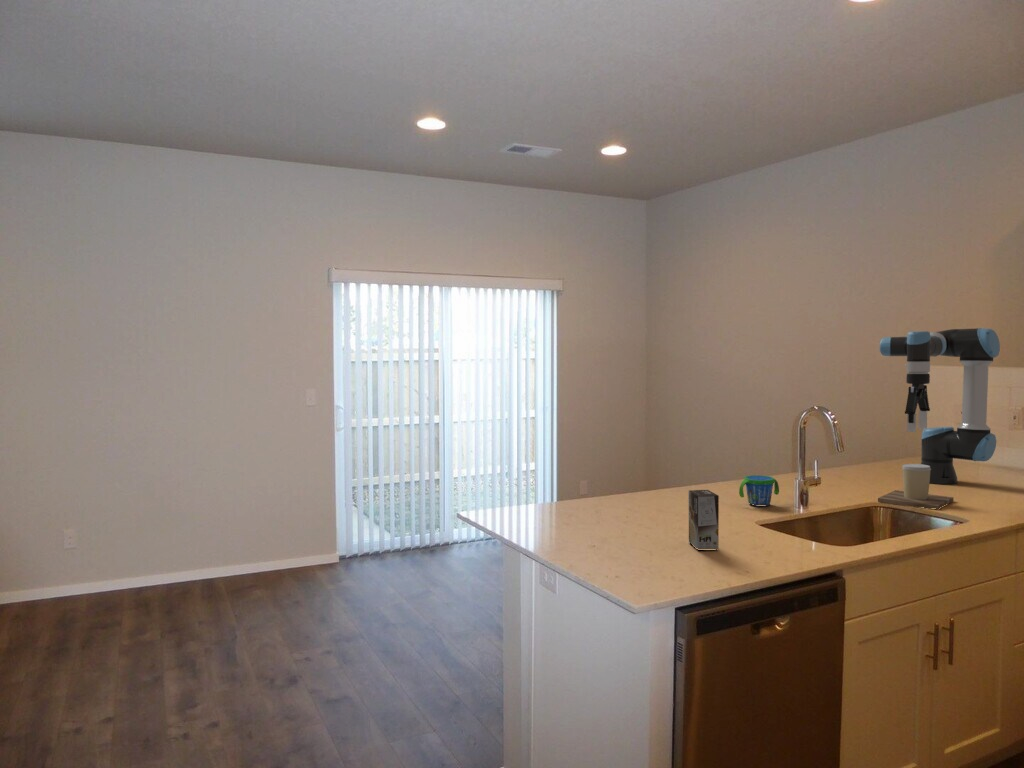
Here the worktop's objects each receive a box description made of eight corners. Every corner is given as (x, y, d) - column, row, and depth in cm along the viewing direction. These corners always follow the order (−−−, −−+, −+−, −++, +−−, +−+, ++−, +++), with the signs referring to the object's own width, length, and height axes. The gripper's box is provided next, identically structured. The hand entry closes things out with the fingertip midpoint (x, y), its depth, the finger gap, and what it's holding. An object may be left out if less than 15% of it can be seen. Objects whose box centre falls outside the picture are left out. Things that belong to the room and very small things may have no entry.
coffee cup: (923, 495, 276) (923, 463, 275) (935, 500, 266) (935, 467, 266) (897, 494, 277) (897, 463, 276) (908, 500, 267) (908, 467, 267)
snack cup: (746, 509, 262) (746, 480, 261) (732, 502, 272) (732, 475, 272) (786, 507, 264) (786, 479, 264) (771, 501, 275) (771, 474, 274)
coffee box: (719, 551, 209) (719, 495, 208) (697, 551, 208) (698, 496, 208) (708, 542, 218) (708, 489, 217) (687, 543, 217) (687, 489, 217)
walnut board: (895, 493, 286) (895, 490, 286) (953, 501, 272) (953, 497, 271) (877, 502, 271) (877, 498, 271) (937, 510, 257) (938, 505, 257)
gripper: (917, 371, 281) (916, 426, 282) (896, 374, 264) (895, 432, 265) (939, 371, 276) (938, 427, 277) (919, 374, 258) (918, 434, 259)
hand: (917, 430), depth 271 cm, fingers open, 13 cm apart
